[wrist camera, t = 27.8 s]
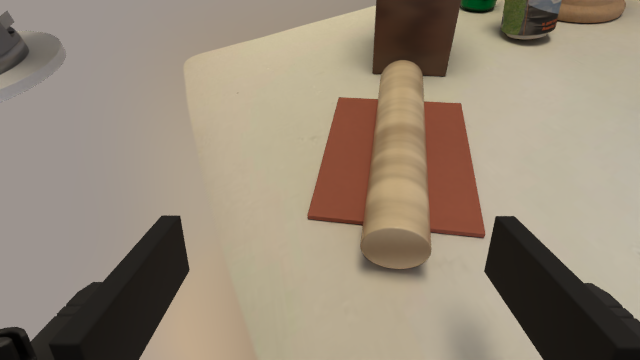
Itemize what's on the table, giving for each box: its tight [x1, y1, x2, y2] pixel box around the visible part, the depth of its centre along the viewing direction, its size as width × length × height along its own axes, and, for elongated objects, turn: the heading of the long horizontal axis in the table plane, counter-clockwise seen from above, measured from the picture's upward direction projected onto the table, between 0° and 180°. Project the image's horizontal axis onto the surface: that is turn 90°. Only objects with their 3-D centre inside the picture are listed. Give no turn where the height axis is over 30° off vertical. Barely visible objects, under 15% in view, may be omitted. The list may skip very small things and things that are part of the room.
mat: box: [308, 97, 485, 238], centre depth 30 cm, size 12×16×1 cm
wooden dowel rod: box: [361, 60, 431, 269], centre depth 28 cm, size 20×4×4 cm, turn 170°
